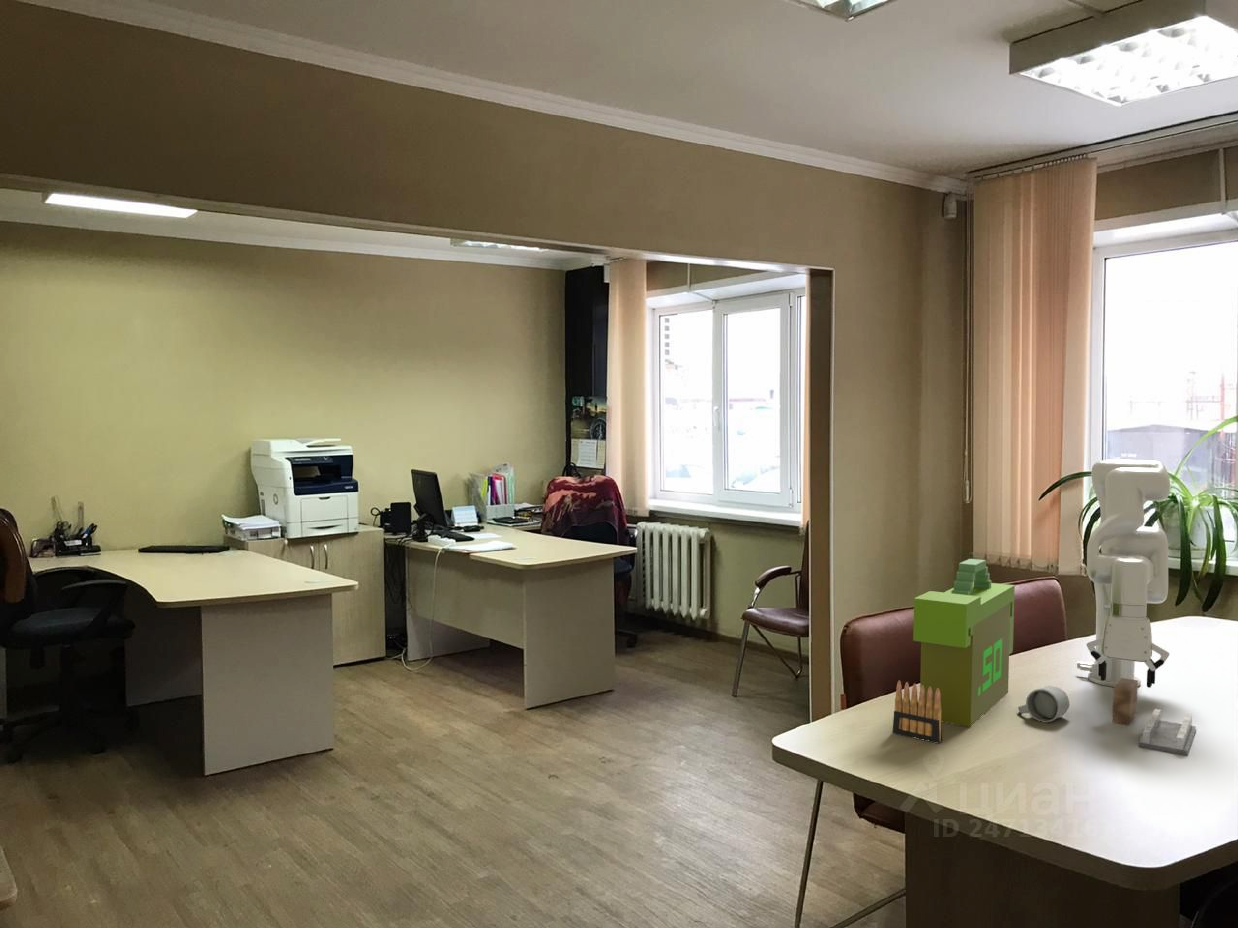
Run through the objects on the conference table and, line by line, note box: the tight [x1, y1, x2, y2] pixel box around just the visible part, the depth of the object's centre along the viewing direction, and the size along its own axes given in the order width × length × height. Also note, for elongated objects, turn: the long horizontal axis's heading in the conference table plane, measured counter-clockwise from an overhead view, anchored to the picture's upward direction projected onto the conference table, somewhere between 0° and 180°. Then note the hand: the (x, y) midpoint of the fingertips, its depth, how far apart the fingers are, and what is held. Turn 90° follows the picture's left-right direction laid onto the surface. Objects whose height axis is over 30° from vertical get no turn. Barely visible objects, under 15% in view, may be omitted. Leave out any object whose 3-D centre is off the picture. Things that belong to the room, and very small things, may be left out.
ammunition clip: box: [892, 679, 943, 744], centre depth 209 cm, size 11×2×12 cm, turn 50°
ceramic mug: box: [1017, 685, 1070, 723], centre depth 224 cm, size 11×8×8 cm
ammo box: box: [912, 558, 1015, 728], centre depth 232 cm, size 45×12×35 cm, turn 145°
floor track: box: [1138, 708, 1197, 756], centre depth 209 cm, size 9×20×4 cm, turn 144°
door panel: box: [1111, 678, 1139, 726], centre depth 224 cm, size 4×12×8 cm, turn 144°
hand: (1126, 682), depth 223 cm, fingers open, 9 cm apart
